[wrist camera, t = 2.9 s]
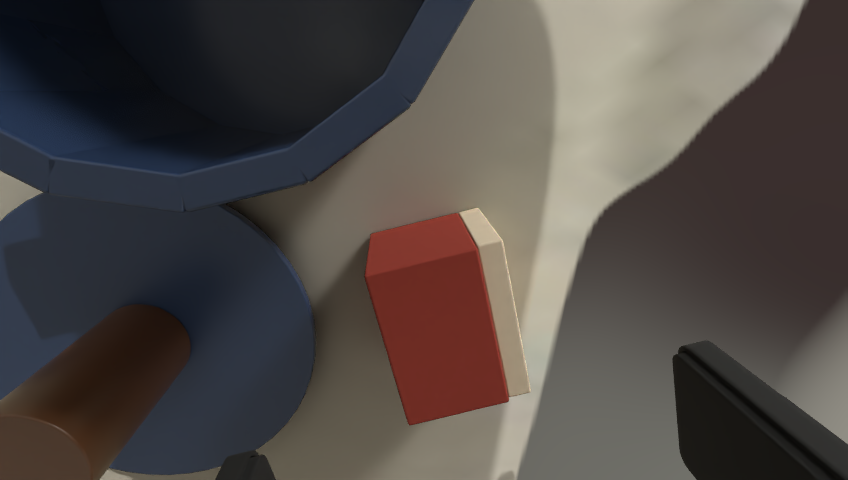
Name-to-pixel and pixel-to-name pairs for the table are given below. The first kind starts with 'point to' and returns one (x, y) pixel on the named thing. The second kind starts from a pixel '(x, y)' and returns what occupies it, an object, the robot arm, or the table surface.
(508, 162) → the table surface
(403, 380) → the meat
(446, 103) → the table surface
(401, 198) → the table surface
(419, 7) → the pot
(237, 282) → the lid
